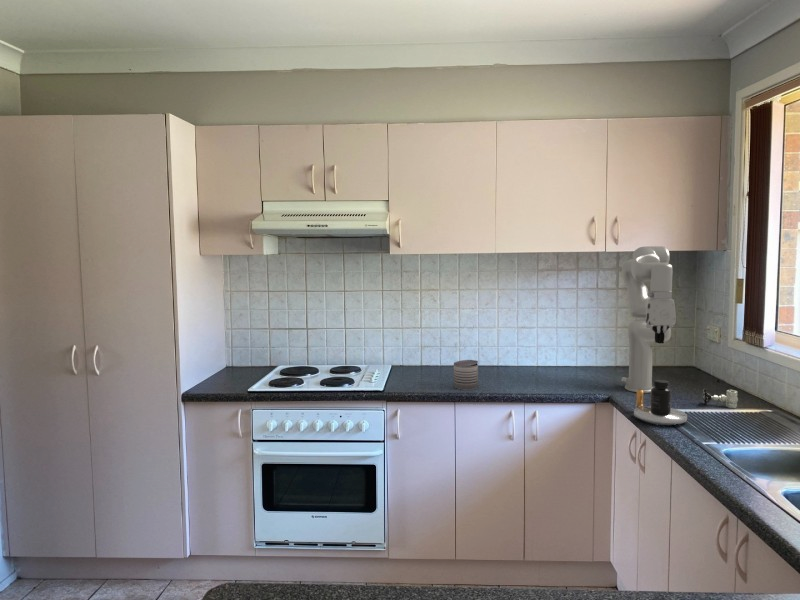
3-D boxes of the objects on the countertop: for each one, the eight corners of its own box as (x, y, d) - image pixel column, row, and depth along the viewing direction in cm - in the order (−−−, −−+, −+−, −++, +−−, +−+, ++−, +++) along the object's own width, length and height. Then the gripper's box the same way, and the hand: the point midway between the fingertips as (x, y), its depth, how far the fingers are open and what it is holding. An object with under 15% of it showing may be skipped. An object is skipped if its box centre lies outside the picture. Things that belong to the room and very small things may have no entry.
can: (479, 390, 256) (479, 364, 255) (454, 390, 256) (454, 364, 255) (477, 384, 267) (477, 359, 266) (453, 384, 268) (452, 359, 266)
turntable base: (668, 428, 199) (668, 425, 199) (632, 419, 210) (632, 416, 210) (688, 420, 208) (688, 418, 208) (651, 412, 219) (651, 409, 219)
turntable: (698, 421, 202) (699, 402, 202) (655, 426, 198) (656, 406, 197) (657, 405, 223) (657, 387, 223) (617, 409, 219) (618, 391, 218)
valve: (735, 405, 227) (702, 402, 231) (736, 389, 226) (703, 386, 231) (738, 409, 221) (704, 406, 225) (739, 393, 220) (704, 390, 224)
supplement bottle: (674, 415, 206) (675, 383, 204) (655, 415, 205) (656, 383, 204) (665, 409, 212) (666, 378, 211) (647, 410, 212) (648, 379, 211)
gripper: (648, 297, 211) (646, 345, 213) (685, 296, 213) (683, 343, 215) (637, 295, 219) (636, 341, 220) (673, 294, 220) (671, 340, 222)
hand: (659, 342), depth 218 cm, fingers closed
